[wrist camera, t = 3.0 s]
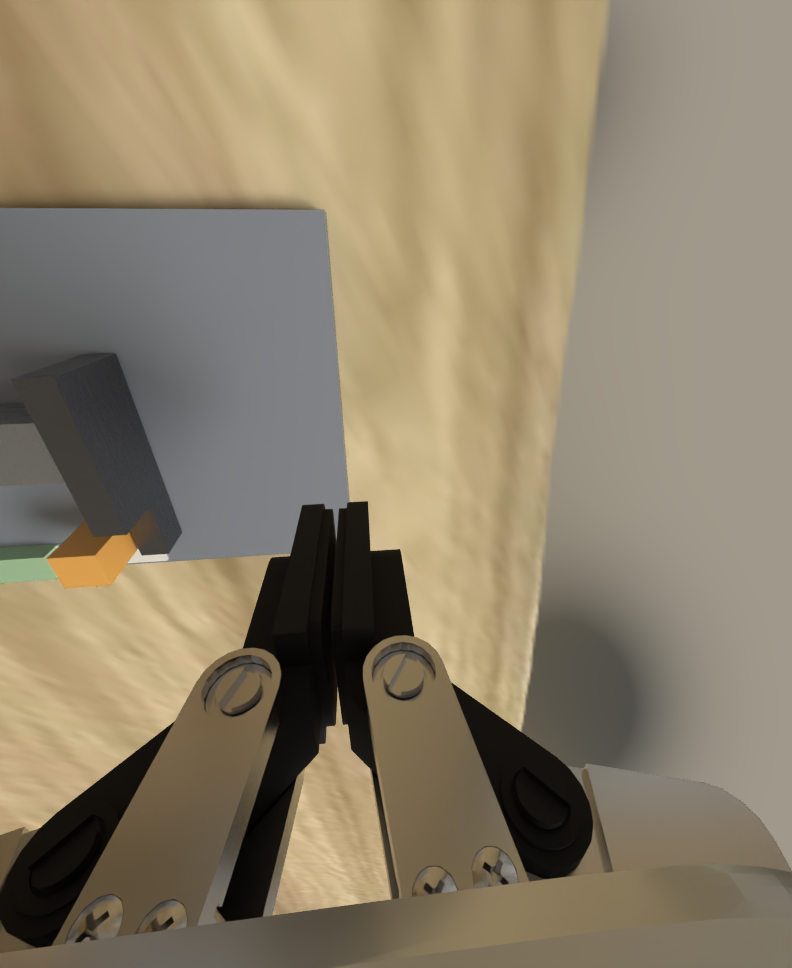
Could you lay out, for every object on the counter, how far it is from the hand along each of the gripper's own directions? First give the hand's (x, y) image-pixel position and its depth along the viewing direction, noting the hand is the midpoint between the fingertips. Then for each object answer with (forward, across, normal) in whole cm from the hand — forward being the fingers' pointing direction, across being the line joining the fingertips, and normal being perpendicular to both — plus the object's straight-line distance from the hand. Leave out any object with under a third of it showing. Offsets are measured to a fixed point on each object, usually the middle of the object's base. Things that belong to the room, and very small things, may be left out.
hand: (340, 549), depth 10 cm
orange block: (+8, +11, +4) cm, 14 cm away
